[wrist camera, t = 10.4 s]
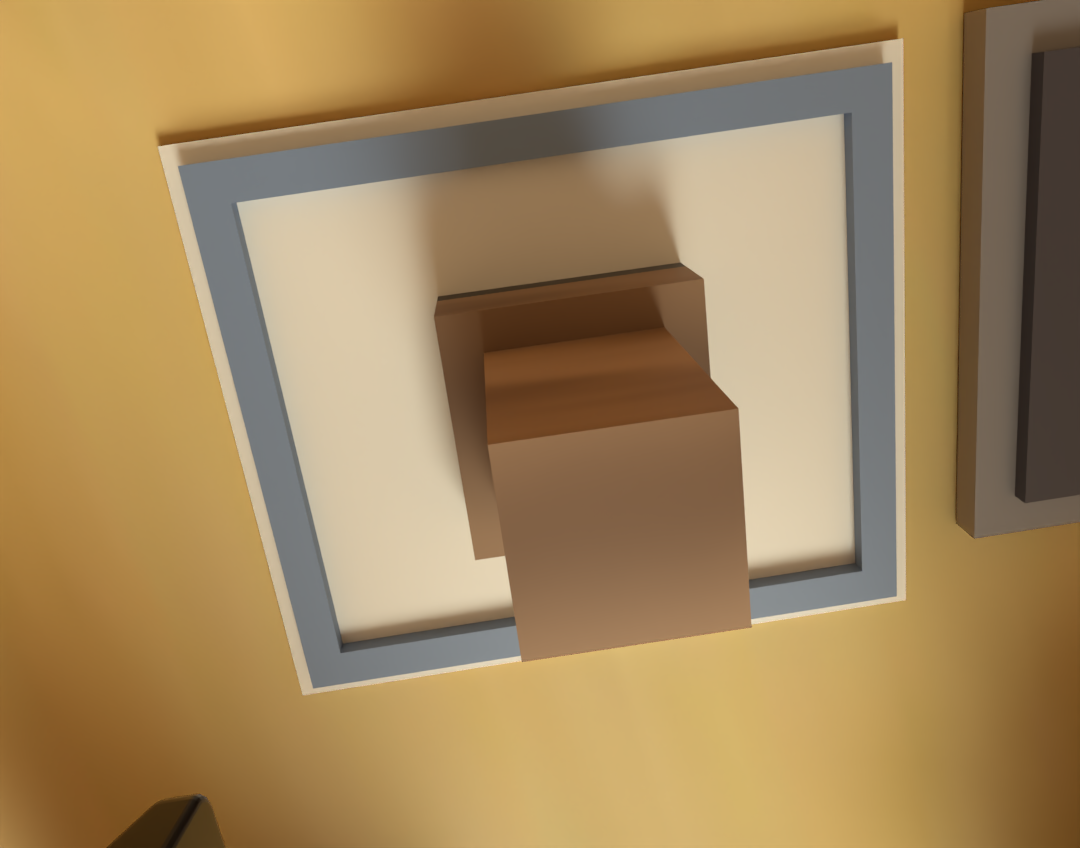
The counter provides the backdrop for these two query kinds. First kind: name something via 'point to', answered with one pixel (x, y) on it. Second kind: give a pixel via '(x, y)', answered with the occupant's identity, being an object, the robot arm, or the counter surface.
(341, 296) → the marked sheet
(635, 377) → the stamp
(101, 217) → the counter surface
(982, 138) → the ink pad
